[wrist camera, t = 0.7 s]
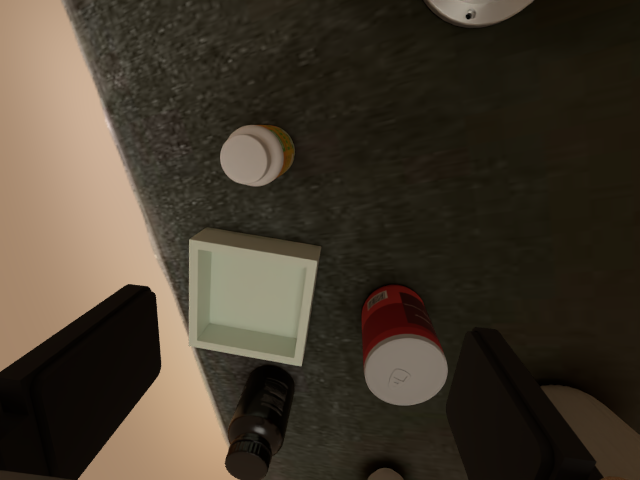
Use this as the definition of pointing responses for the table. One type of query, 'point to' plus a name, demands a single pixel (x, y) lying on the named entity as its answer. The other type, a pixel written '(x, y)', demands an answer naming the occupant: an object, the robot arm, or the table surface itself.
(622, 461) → the canister
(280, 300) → the bin
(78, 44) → the table surface
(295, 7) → the table surface
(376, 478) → the air blower bulb
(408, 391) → the canned food
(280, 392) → the supplement bottle
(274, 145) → the supplement bottle
